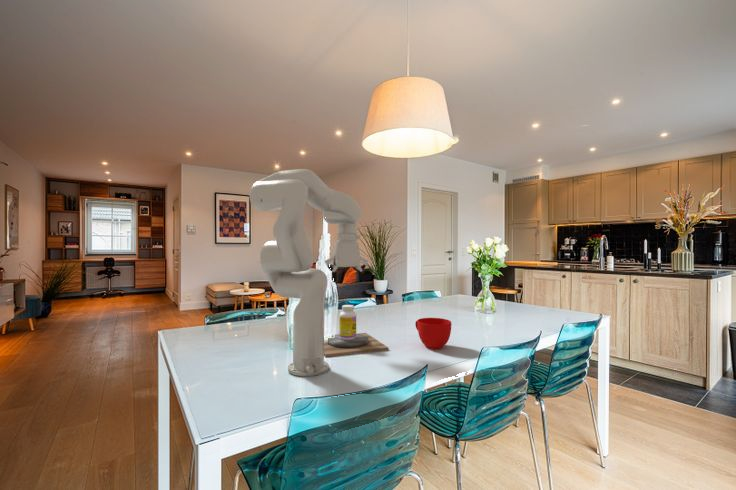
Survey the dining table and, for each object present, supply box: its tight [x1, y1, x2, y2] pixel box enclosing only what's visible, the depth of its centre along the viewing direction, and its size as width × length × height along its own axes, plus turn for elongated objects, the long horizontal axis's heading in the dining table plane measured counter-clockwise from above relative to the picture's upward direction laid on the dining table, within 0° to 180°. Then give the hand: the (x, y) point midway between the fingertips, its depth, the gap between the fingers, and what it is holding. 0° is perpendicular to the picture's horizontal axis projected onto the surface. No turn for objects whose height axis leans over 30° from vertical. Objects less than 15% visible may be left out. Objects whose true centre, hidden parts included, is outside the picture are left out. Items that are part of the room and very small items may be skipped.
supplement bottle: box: [338, 304, 357, 340], centre depth 137 cm, size 7×7×13 cm
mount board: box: [324, 332, 390, 358], centre depth 137 cm, size 24×24×2 cm
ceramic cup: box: [414, 317, 452, 350], centre depth 136 cm, size 13×17×10 cm
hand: (346, 281), depth 137 cm, fingers open, 9 cm apart
